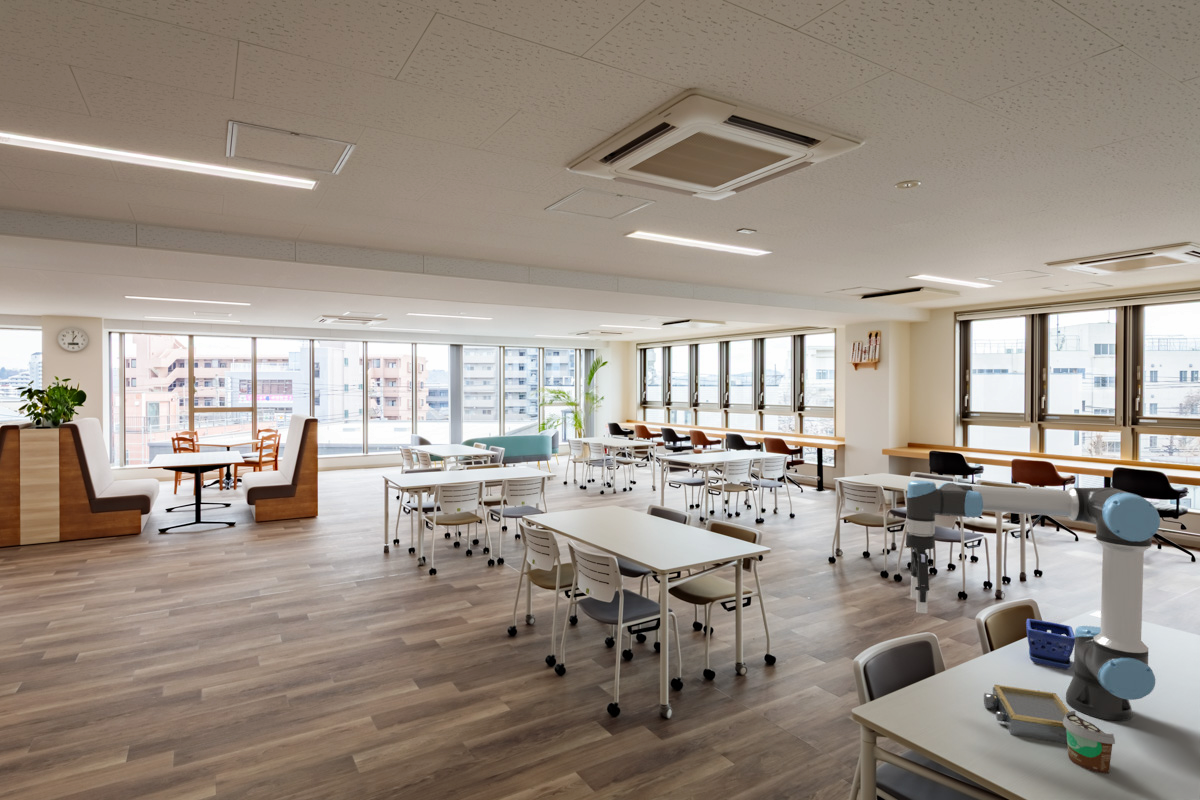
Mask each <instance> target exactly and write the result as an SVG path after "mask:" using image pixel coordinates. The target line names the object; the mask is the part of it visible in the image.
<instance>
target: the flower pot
mask: <svg viewBox="0 0 1200 800" xmlns="http://www.w3.org/2000/svg"><path fill="white" fill-rule="evenodd" d="M1025 625H1026V637H1027V642H1028V647H1029V648H1028V653H1029V654H1028V655H1029V659H1030V660H1031V661H1032V663H1034V664H1039V665H1042V666H1047V667H1052V668H1057V669H1062V670H1069V669H1070V668H1071V667H1072V663H1071V655H1072V654H1073V652H1074V651H1073V650H1074V649H1075V638H1074V636H1075V632H1074V630H1073V626H1070V625H1066V624H1061V623H1057V622H1052V621H1045V620H1039V619H1034V618H1033V619H1032V618H1027V619H1026V622H1025ZM1048 631H1050V632H1048Z"/></svg>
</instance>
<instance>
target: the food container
mask: <svg viewBox="0 0 1200 800" xmlns="http://www.w3.org/2000/svg"><path fill="white" fill-rule="evenodd" d="M1069 711H1070V710H1069ZM1063 725H1064V726H1065V727H1066V731H1067V743H1066V744H1067V756H1068V758H1069V760H1070V761H1071V762H1072V763H1073V764H1074V765H1076V766H1078V767H1081V768H1083V769H1085V770H1088V771H1091V772H1094V773H1099V774H1110V766H1111V759H1112V753H1113V751H1112V750H1113V745H1115V744H1116V741H1115V735H1114V734H1113V733H1105V732H1104V731H1103V730H1101V729H1100V728H1099V727H1097V726H1096V725H1095V724H1093V723H1091V722H1090V721H1087V720H1085V719H1083V718H1081V717H1079V716H1078V715H1077V714H1076V710H1071V711H1070V712H1068V713H1066V715H1065V717H1064V720H1063Z"/></svg>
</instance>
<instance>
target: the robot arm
mask: <svg viewBox="0 0 1200 800" xmlns="http://www.w3.org/2000/svg"><path fill="white" fill-rule="evenodd" d="M984 512H994V513H995V512H996V513H1008V514H1010V513H1011V514H1020V515H1021V514H1024V515H1025V514H1027V515H1039V516H1051V517H1052V516H1053V517H1065V518H1067V519H1069V520H1070V521H1073V522H1075V521H1076V522H1083V523H1088V524H1093V525H1096V527H1095V528H1096V531H1095V533H1096V534H1095V537H1096V538H1095V540H1096V541H1097V542H1098V543H1099V544H1100V545H1101V546H1102V562H1101V563H1102V564H1101V565H1102V569H1101V571H1102V572H1101V605H1100V606H1101V607H1100V608H1101V609H1100V626H1094V625H1093V626H1092V625H1079V626H1077V627H1076V628H1075V630H1074V631H1075V632H1074V635H1075V636H1074V638H1075V644H1074V648H1073V650H1074V651H1073V652H1074V654H1073V655H1074V656H1073V657H1074V661H1073V677H1072V679H1071V681H1070V683H1069V686H1068V688H1067V690H1066V693H1065V701H1066V704H1067V705H1068V706H1070V707H1071V708H1073V709H1075V711H1078V712H1081V713H1082V714H1086V715H1087V716H1092V717H1095V718H1099V719H1103V720H1107V721H1108V720H1109V721H1128V720H1131V718H1132V713H1133V711H1132V709H1133V708H1132V706H1131V703H1130V701H1131V700H1132V701H1133V700H1140V699H1143V698H1145V697H1146V696H1149V695H1150V694H1151V693H1152V692H1153V690H1154V689H1155V686H1156V676H1155V674H1154V671H1153V669H1152V668H1151V666H1150V665H1149V647H1148V646H1147V645H1146V644H1145V643H1144V642H1143V640H1142V624H1143V591H1144V590H1143V588H1144V587H1143V584H1144V553H1145V552H1146V551H1147V550H1148V549H1150V548H1151V547H1152V540H1153V539H1152V537H1153V536H1154V535H1155V534H1156V533H1157V532H1158V531H1159V528H1160V525H1161V517H1160V514H1159V512H1158V510H1157V508H1156V507H1155V506H1154V505H1153V503H1151V502H1150V501H1148V500H1147V499H1146V498H1144V497H1143V496H1141V495H1140V494H1139V495H1138V494H1136V493H1132V492H1128V491H1124V490H1122V489H1120V488H1114V487H1073V486H1072V487H1069V488H1068V489H1067V490H1060V489H1046V488H1044V489H1042V488H1041V489H1040V488H1025V487H1008V486H1007V487H1005V486H988V485H987V486H985V485H984V486H983V485H967V484H956V483H954V482H944V483H942V484H940V485H939V486H938V488H937V487H936V483H935V482H934V481H929V480H918V479H917V480H911V481H908V483H907V494H906V520H905V521H904V525H906V531H907V532H906V534H905V544H906V546H907V547H909V548H912V550H911V562H910V569H909V571H910V598H911V599H915V600H916V613H917V614H918V613H919V614H927V615H928V604H929V603H928V598H929V594H928V593H929V591H930V583H929V582H930V581H929V579H930V578H929V555H928V553H927V552H926V550H932V549H934V548H935V538H936V537H935V533H936V516H937V515H938V516H949V517H950V516H951V517H961V518H980V517H981V516H982V514H983V513H984Z"/></svg>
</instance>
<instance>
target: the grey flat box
mask: <svg viewBox="0 0 1200 800" xmlns="http://www.w3.org/2000/svg"><path fill="white" fill-rule="evenodd" d="M1060 698H1061V697H1059V696H1058V694H1057V693H1056V692H1050V691H1049V692H1048V691H1042V690H1035V689H1029V688H1023V687H1022V688H1021V687H1014V686H1008V685H1007V686H1006V685H1000V684H994V685H993V686H992V693H988V692H984V694H983V705H984V707H985V709H990V710H996V711H995V719H996V721H997V722H1003V723H1004V725H1005V726H1006V729H1007V731H1008V733H1009V734H1010V735H1014V736H1018V737H1025V738H1031V739H1036V740H1037V739H1038V740H1043V741H1047V742H1048V741H1050V742H1054V743H1060V744H1061V743H1062V744H1067V731H1066V727H1065V726H1064V725H1063V720H1064V717H1065V715H1066V713H1068V712H1070V710H1069V709H1068V708H1067V706H1066V705H1065V703H1064V702H1063V701H1062V699H1060Z"/></svg>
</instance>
